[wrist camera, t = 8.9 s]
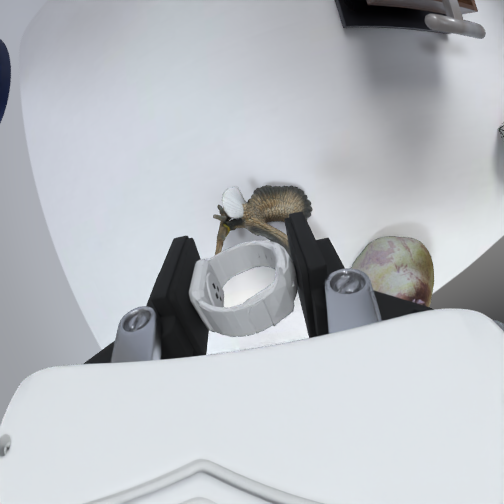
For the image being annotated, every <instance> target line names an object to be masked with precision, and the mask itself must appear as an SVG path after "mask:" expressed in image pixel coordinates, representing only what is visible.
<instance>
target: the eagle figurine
mask: <svg viewBox="0 0 504 504" xmlns="http://www.w3.org/2000/svg"><path fill="white" fill-rule="evenodd" d="M306 199H307V195H304V191H302V190H301V189H298V188H297V187H293V186H290V187H288V186H283V187H280V186H279V187H277V186H274V187H272V186H267V185H266V186H262V187H261V188H257V189H256V190H255V191H254V194H253V195H252V196H251V199H249V200H248V202H246V201H245V200H244V198H243V196H242V194H241V192H240V190H239V188H237V187H232V188H228V189H226V191H225V192H224V193H223V197H222V203H223V208H222V206H221V205H218V209H219V210H220V214H221V216H220V215H213V218H215V219H218V220H220V221H221V222H220V227H219V231H218V236H217V245H216V252H215V255H216V254H218V253H220V252H221V250H222V246H223V241H224V240H225V237H226V236H227V235H228V233H229V231H231V230H235V229H236V228H246V229H248V230H249V231H250V232H252V233H254V234H255V235H257V236H259V235H261V236H265V237H266V238H267V239H269V240H270V241H272V242H275V243H278V244H280V245H281V246H282V247H284V249H285V250H286V252H287V253H288V255H289V256H290V258H291V254H290V248H289V243H288V237H287V235H286V234H284V233H283V232H281V231H280V230H278V229H276V228H274V227H272V226H270V225H268V224H266V223H267V222H271V221H283V222H285V220H284V218H289V214H291V213H296V212H301V211H302V212H303V214H304V216H305V218H306V220H307V217H310V216H311V213H310V212H311V211H312V208H311V207H310V205H311V202H310V201H309V200H306ZM231 218H239V219H233V220H230V219H231ZM229 220H230V221H229Z"/></svg>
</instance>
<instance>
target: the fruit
mask: <svg viewBox="0 0 504 504" xmlns="http://www.w3.org/2000/svg"><path fill="white" fill-rule="evenodd" d="M351 268H352V269H357V270H360V271H363V272H364V273H366V274H367V275H368V277H369V278H370V281H371V284H372V287H373V290H375V291H378V292H381V293H385V294H388V295H391V296H394V297H398V298H401V299H404V300H407V301H411V302H414V303H417V304H421V305H424V306H427V307H429V305H430V302H431V296H432V292H433V286H434V269H433V262H432V259H431V256H430V254H429V252H428V250H427V248H426V247H425V246H424V245H423V244H422V243H421V242H420V241H418V240H416V239H413V238H406V237H393V236H390V237H382V238H379V239H376V240H375V241H373V242H371V243H370V244H368V245H367V246H366V248H365V249H364V250H363V252H362V253H361V255H360V256H359V257H358V258H357V259H356V261H355V262H354V264H353V265H352V267H351Z"/></svg>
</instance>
